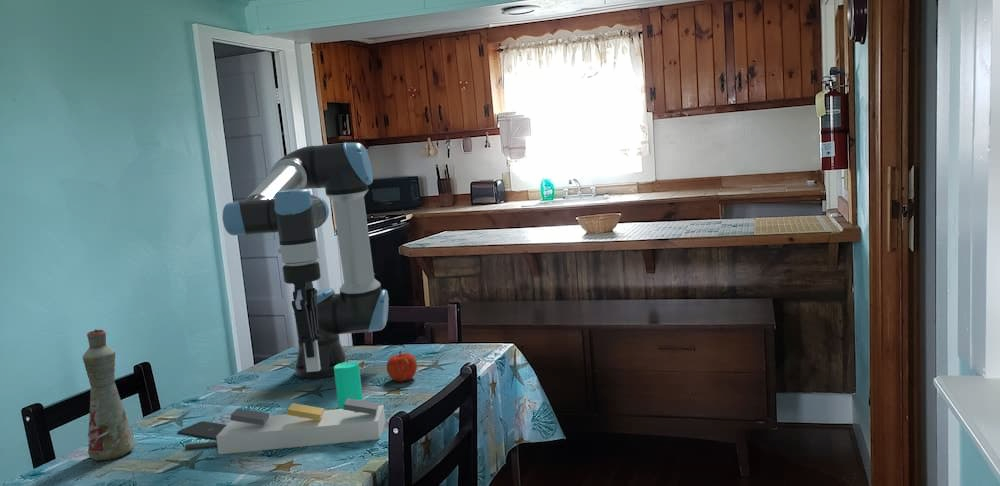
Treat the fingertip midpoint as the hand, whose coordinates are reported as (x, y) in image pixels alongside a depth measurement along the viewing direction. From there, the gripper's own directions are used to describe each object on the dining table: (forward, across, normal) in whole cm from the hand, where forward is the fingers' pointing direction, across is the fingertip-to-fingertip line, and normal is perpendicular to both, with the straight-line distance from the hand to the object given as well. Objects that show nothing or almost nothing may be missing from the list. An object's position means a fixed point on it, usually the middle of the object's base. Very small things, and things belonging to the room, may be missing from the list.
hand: (313, 370), depth 154 cm
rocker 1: (+9, 0, -15) cm, 17 cm away
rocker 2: (+9, 0, -3) cm, 10 cm away
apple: (+16, -37, +14) cm, 42 cm away
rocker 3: (+9, 0, +9) cm, 13 cm away
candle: (+16, -19, +3) cm, 24 cm away
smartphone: (+16, -11, -28) cm, 34 cm away
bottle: (+15, -2, -46) cm, 48 cm away
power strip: (+15, -1, -8) cm, 17 cm away
